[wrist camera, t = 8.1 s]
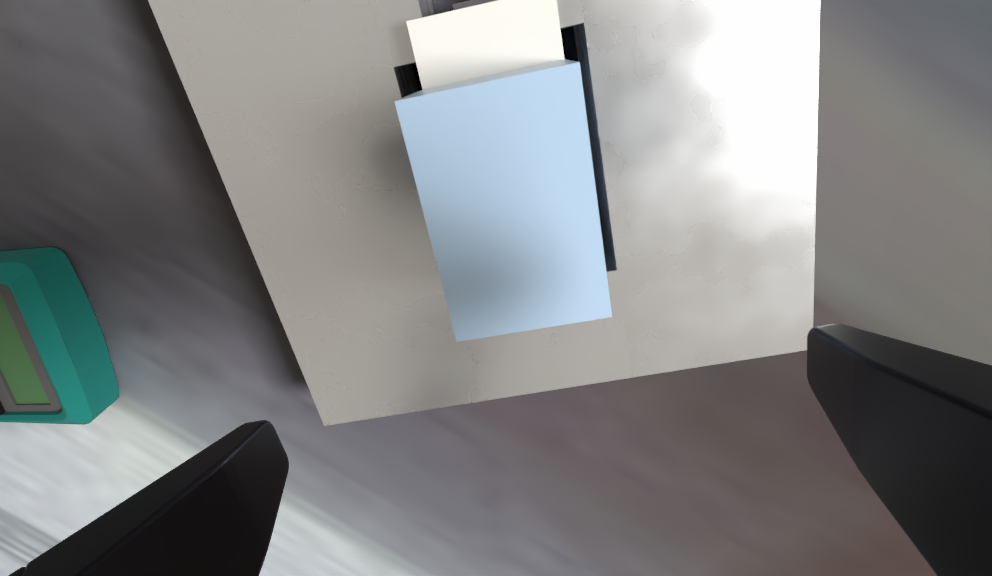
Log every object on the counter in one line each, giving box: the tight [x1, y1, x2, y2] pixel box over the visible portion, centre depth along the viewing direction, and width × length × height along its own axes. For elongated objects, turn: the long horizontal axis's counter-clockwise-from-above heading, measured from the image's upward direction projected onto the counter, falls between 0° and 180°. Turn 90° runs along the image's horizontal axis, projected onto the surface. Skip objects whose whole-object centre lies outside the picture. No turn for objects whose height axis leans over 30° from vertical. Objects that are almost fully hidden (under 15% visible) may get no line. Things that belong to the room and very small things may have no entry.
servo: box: [394, 0, 612, 342], centre depth 16 cm, size 4×10×8 cm, turn 11°
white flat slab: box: [148, 0, 820, 426], centre depth 18 cm, size 18×16×3 cm
